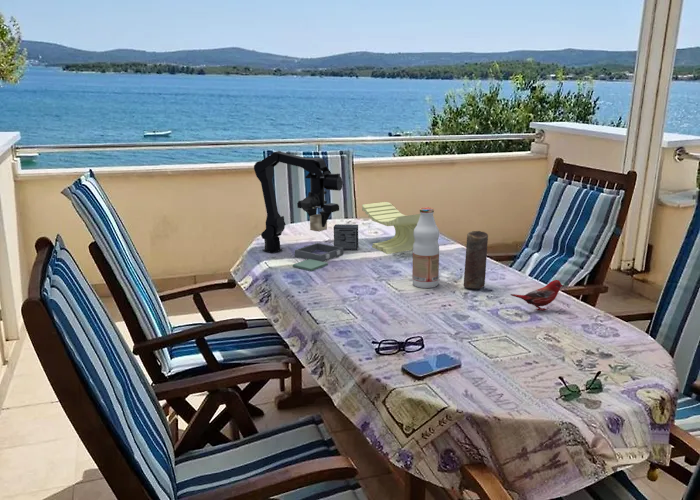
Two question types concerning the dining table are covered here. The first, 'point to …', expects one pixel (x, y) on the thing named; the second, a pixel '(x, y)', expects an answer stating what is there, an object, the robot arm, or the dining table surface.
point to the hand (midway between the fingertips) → (318, 226)
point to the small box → (346, 236)
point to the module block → (317, 223)
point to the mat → (310, 265)
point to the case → (306, 254)
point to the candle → (475, 260)
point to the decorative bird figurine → (542, 295)
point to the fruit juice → (426, 251)
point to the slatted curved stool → (401, 223)
